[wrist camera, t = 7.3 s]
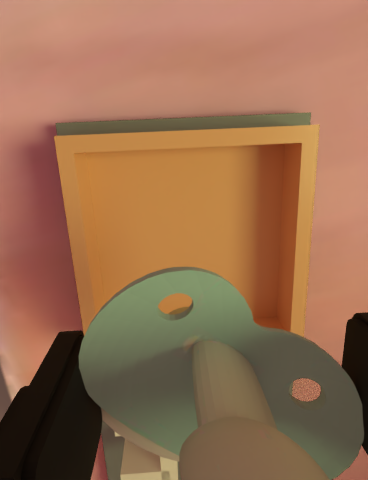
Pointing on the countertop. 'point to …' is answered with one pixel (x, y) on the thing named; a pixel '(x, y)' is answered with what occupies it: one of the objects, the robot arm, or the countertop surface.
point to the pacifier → (217, 384)
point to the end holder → (193, 213)
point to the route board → (115, 446)
